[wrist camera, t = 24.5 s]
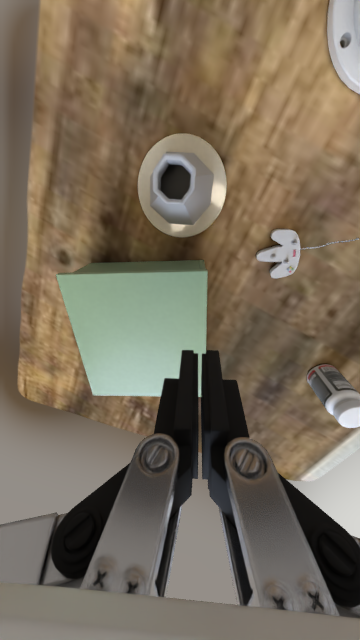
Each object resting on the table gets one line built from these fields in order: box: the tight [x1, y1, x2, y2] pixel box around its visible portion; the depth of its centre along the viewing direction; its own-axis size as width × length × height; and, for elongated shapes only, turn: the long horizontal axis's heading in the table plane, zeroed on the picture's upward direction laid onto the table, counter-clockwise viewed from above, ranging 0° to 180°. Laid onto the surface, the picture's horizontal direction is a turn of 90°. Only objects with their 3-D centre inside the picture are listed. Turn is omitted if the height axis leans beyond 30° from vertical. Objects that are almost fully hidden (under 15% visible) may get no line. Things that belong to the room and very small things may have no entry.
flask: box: [150, 151, 214, 225], centre depth 20 cm, size 7×7×10 cm
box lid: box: [56, 269, 208, 397], centre depth 26 cm, size 17×15×1 cm
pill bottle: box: [307, 364, 360, 428], centre depth 32 cm, size 5×5×8 cm
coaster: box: [138, 133, 227, 237], centre depth 25 cm, size 10×10×1 cm
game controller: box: [256, 229, 359, 279], centre depth 25 cm, size 6×12×3 cm, turn 118°
